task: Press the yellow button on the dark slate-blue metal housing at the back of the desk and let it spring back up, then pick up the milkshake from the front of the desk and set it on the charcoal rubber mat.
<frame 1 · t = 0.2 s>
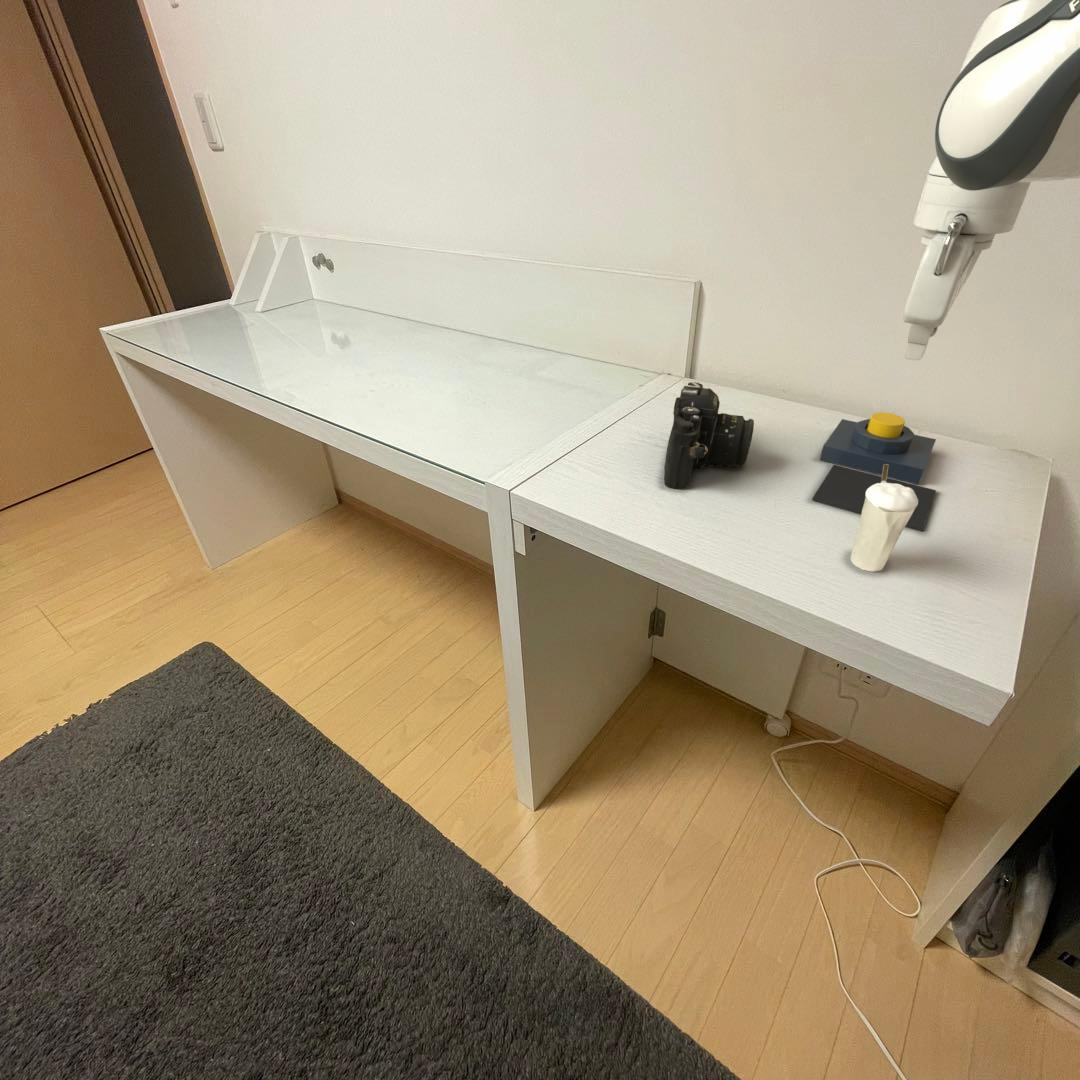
hand: (919, 345, 69), 17 cm above the table, tool pointing down, fingers open, 8 cm apart
film camera: (701, 463, 83), on the table
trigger: (885, 425, 80), point 5 cm above the table, slide at 0.1 cm
milkshake: (865, 561, 64), on the table
mat: (873, 496, 75), on the table
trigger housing: (875, 456, 83), on the table
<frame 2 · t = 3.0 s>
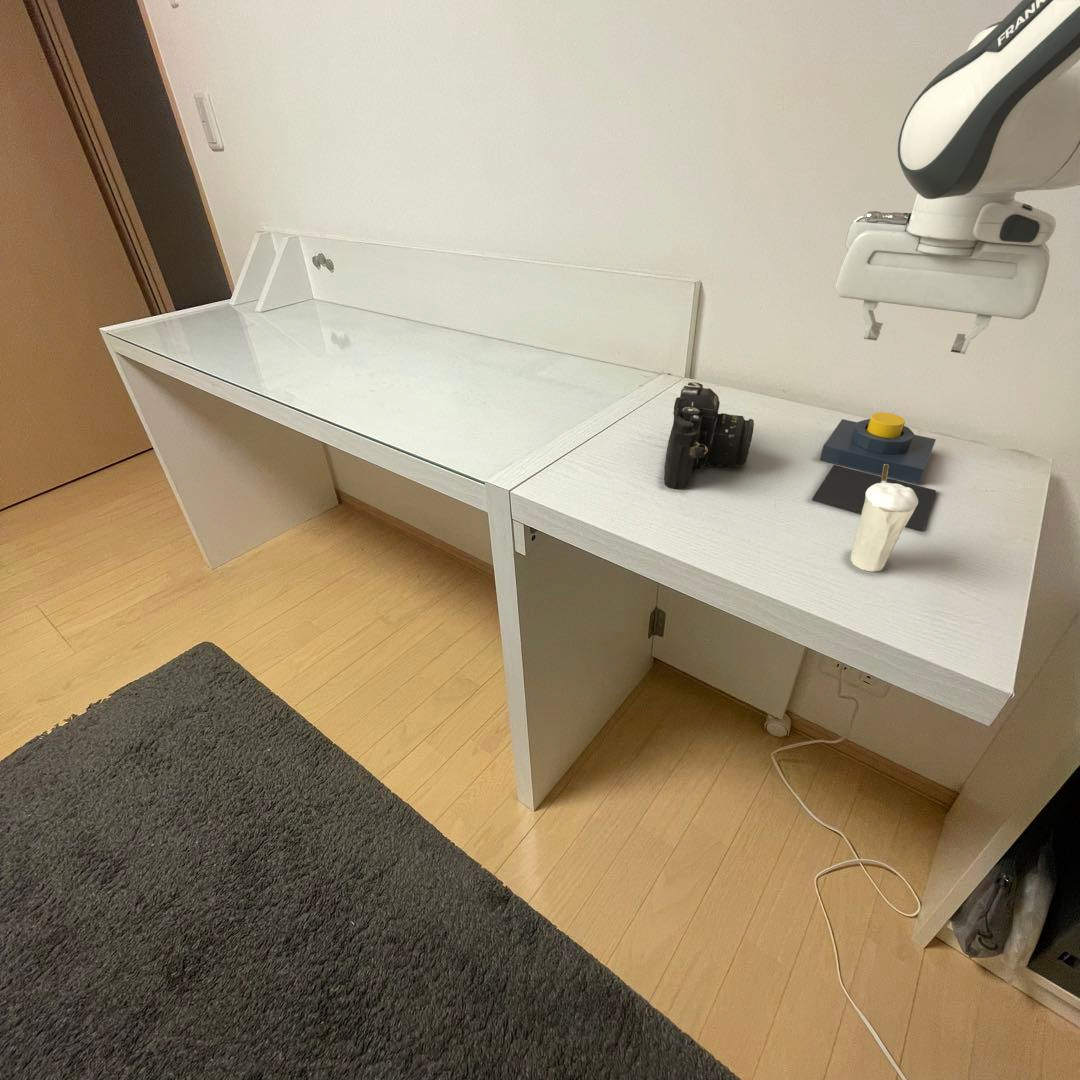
hand: (913, 345, 73), 15 cm above the table, tool pointing down, fingers open, 8 cm apart
nothing on the table moved.
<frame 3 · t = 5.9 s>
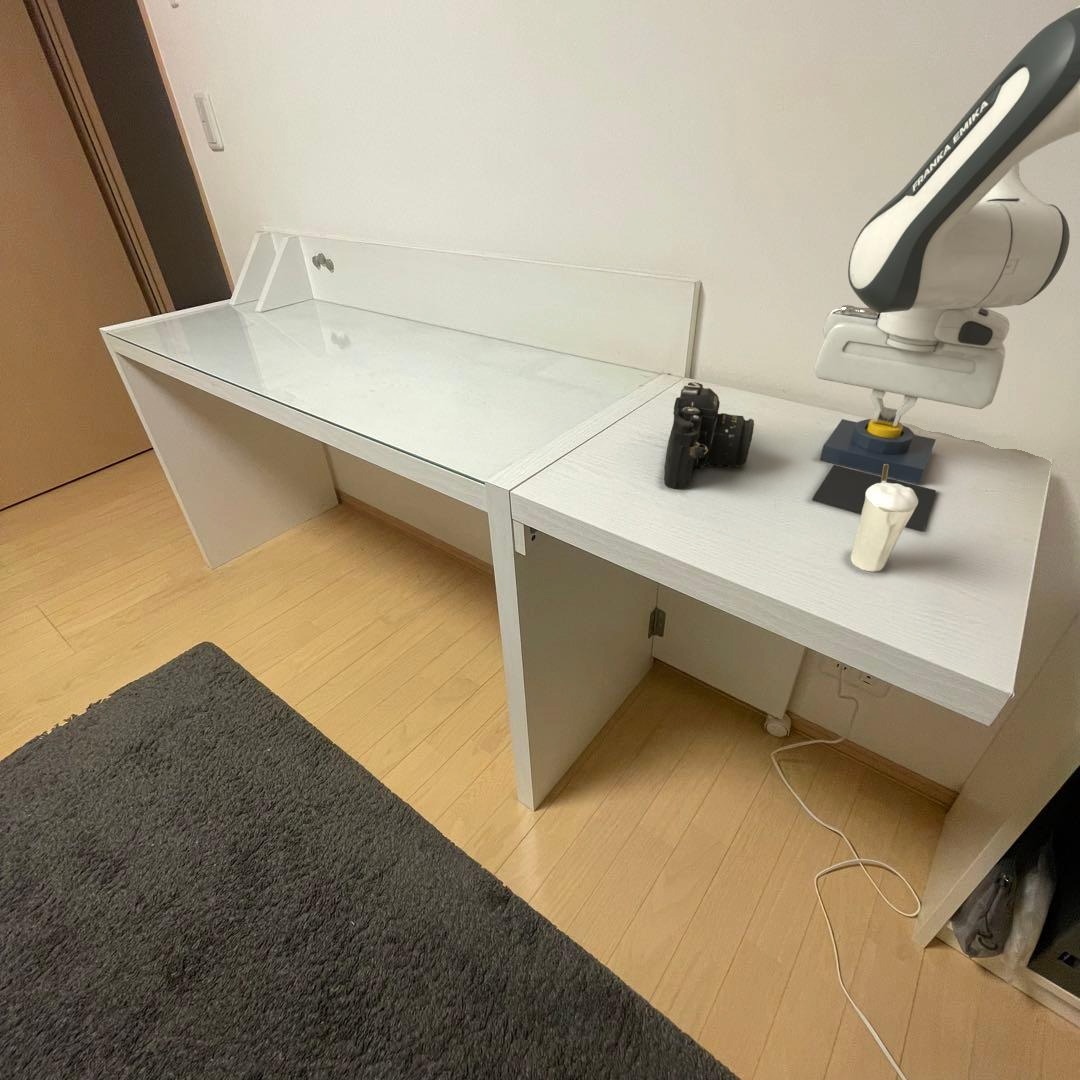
hand: (885, 423, 80), 5 cm above the table, tool pointing down, fingers closed, pressing on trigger
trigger: (883, 430, 80), point 4 cm above the table, slide at -0.7 cm, touching gripper
everything else where it was.
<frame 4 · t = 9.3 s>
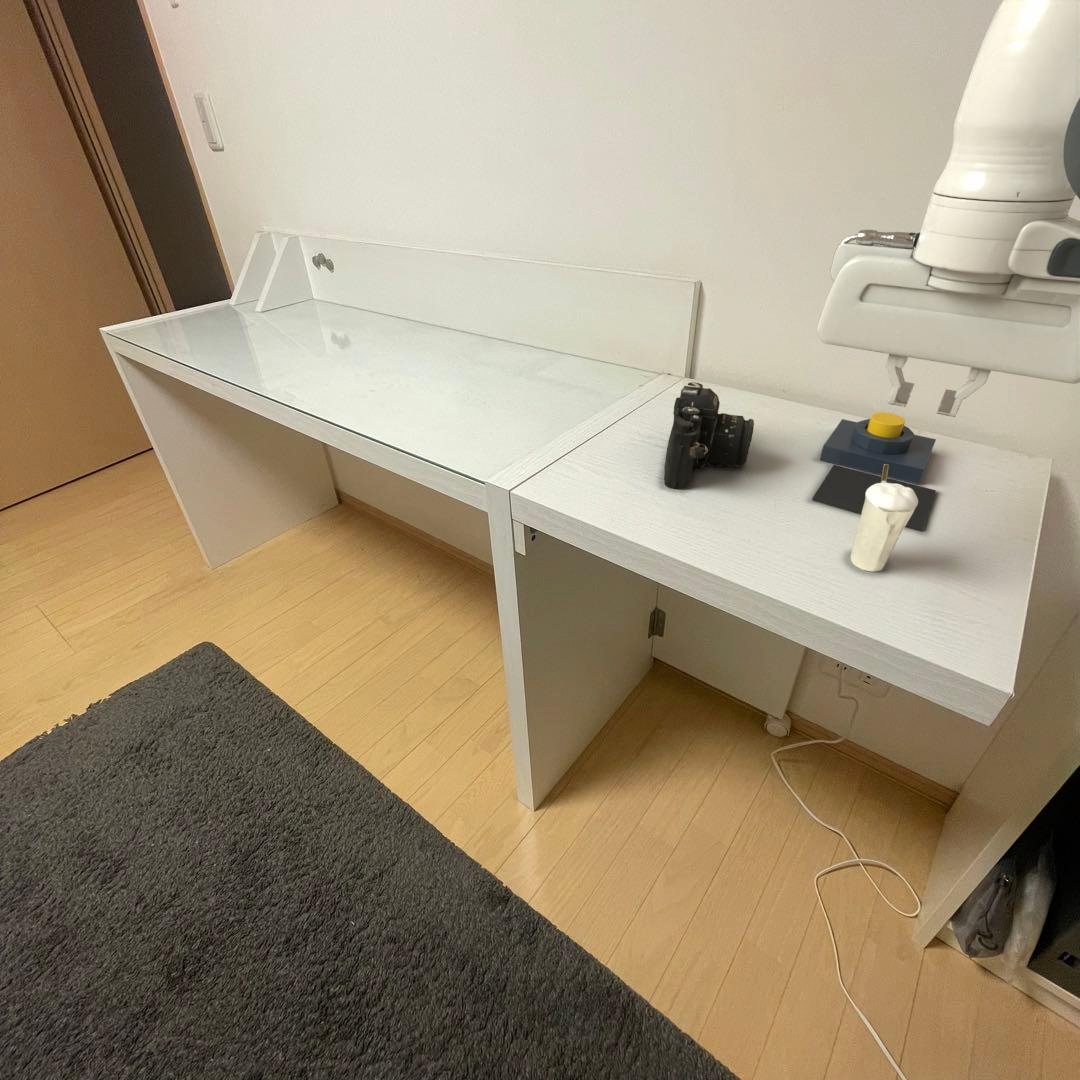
hand: (921, 408, 54), 17 cm above the table, tool pointing down, fingers closed
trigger: (885, 425, 80), point 5 cm above the table, slide at 0.1 cm
everything else where it was.
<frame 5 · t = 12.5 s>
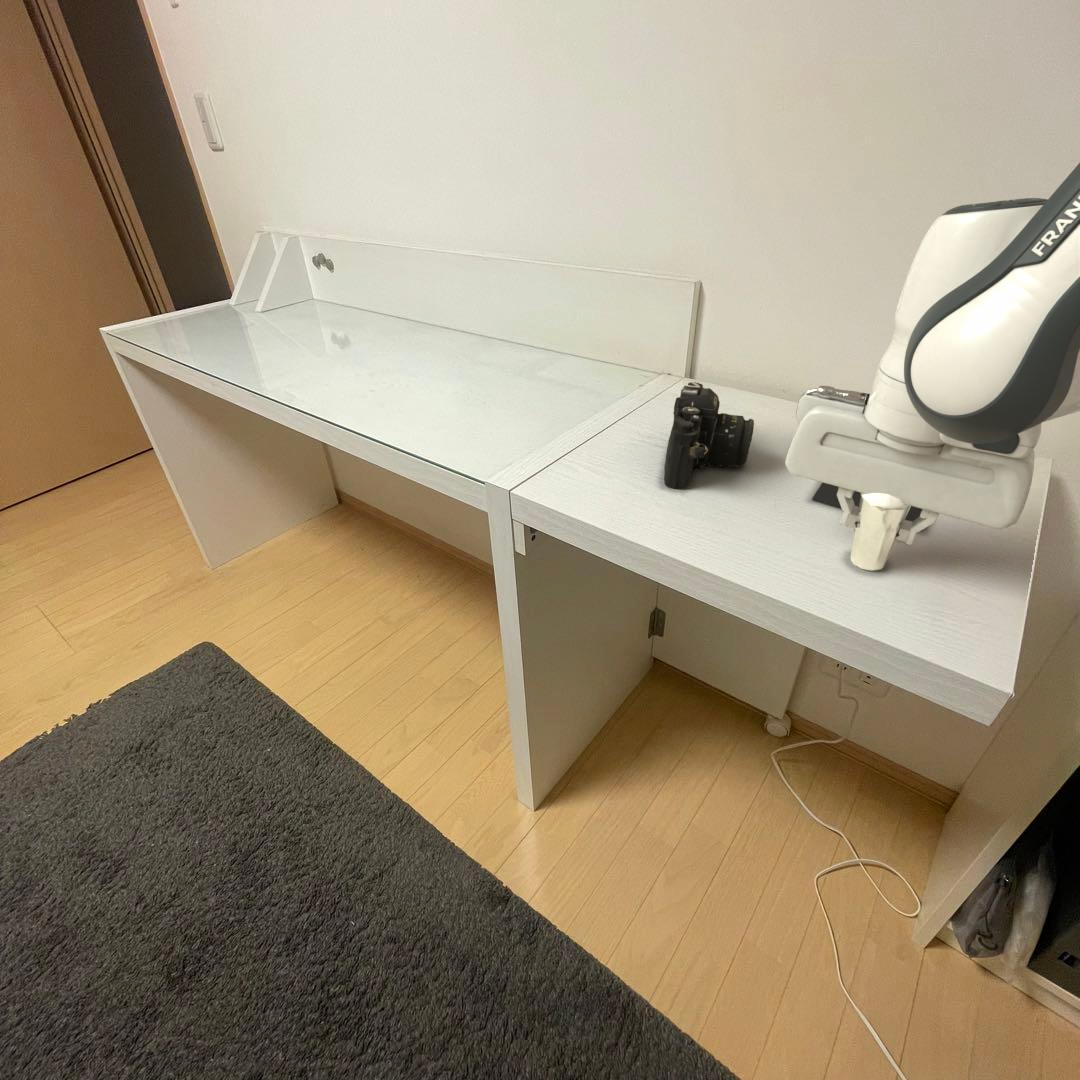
hand: (876, 532, 62), 4 cm above the table, tool pointing down, fingers closed on milkshake, 4 cm apart
milkshake: (865, 561, 64), on the table, touching gripper
everything else where it was.
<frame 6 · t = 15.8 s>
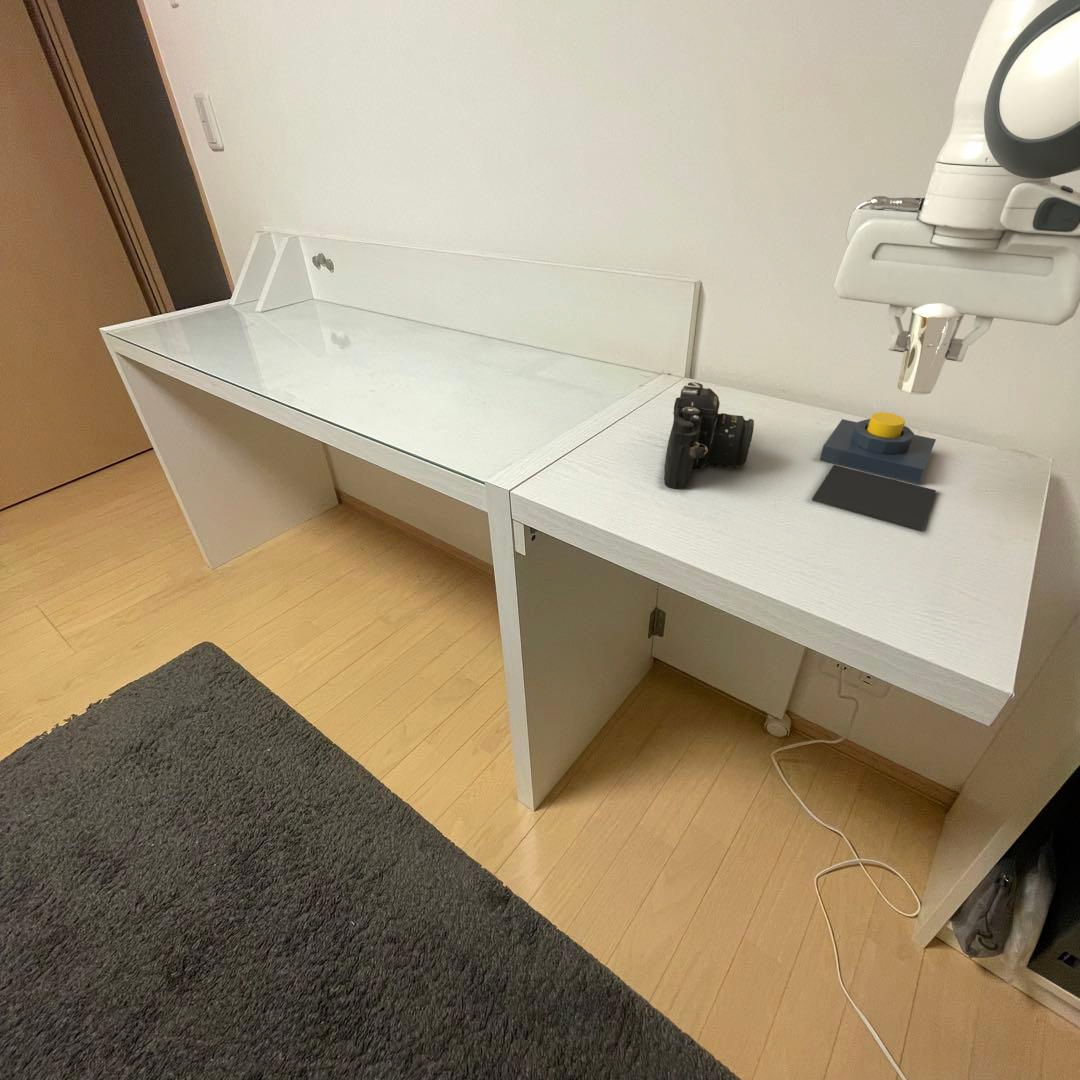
hand: (925, 354, 62), 18 cm above the table, tool pointing down, fingers closed on milkshake, 4 cm apart
milkshake: (912, 389, 64), point 15 cm above the table, touching gripper
everything else where it was.
when the fingers open (4 cm above the table, at t = 19.4 s): milkshake stays where it is, resting on mat.
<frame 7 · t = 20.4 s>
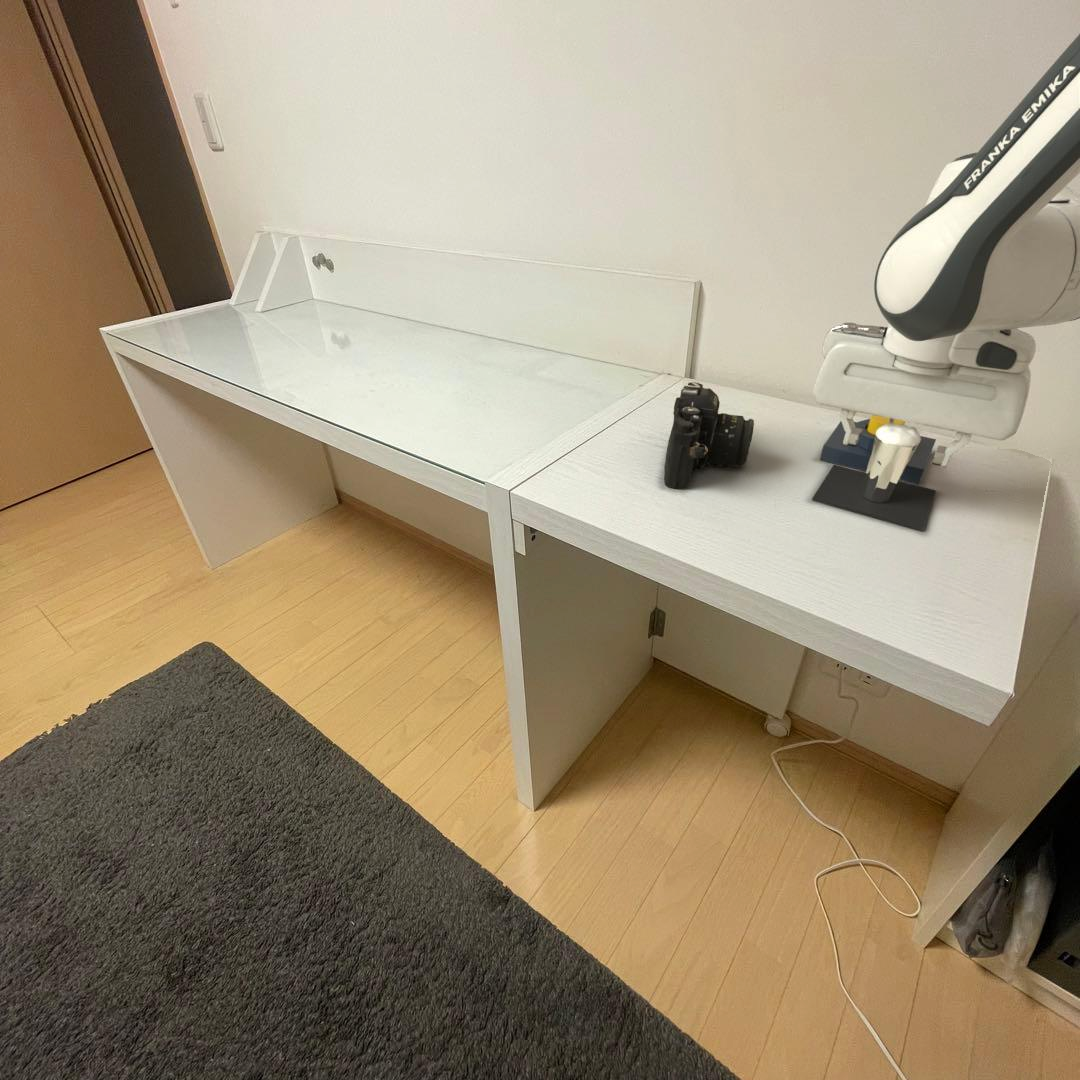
hand: (893, 453, 71), 6 cm above the table, tool pointing down, fingers open, 8 cm apart
milkshake: (873, 495, 74), resting on mat
everything else where it was.
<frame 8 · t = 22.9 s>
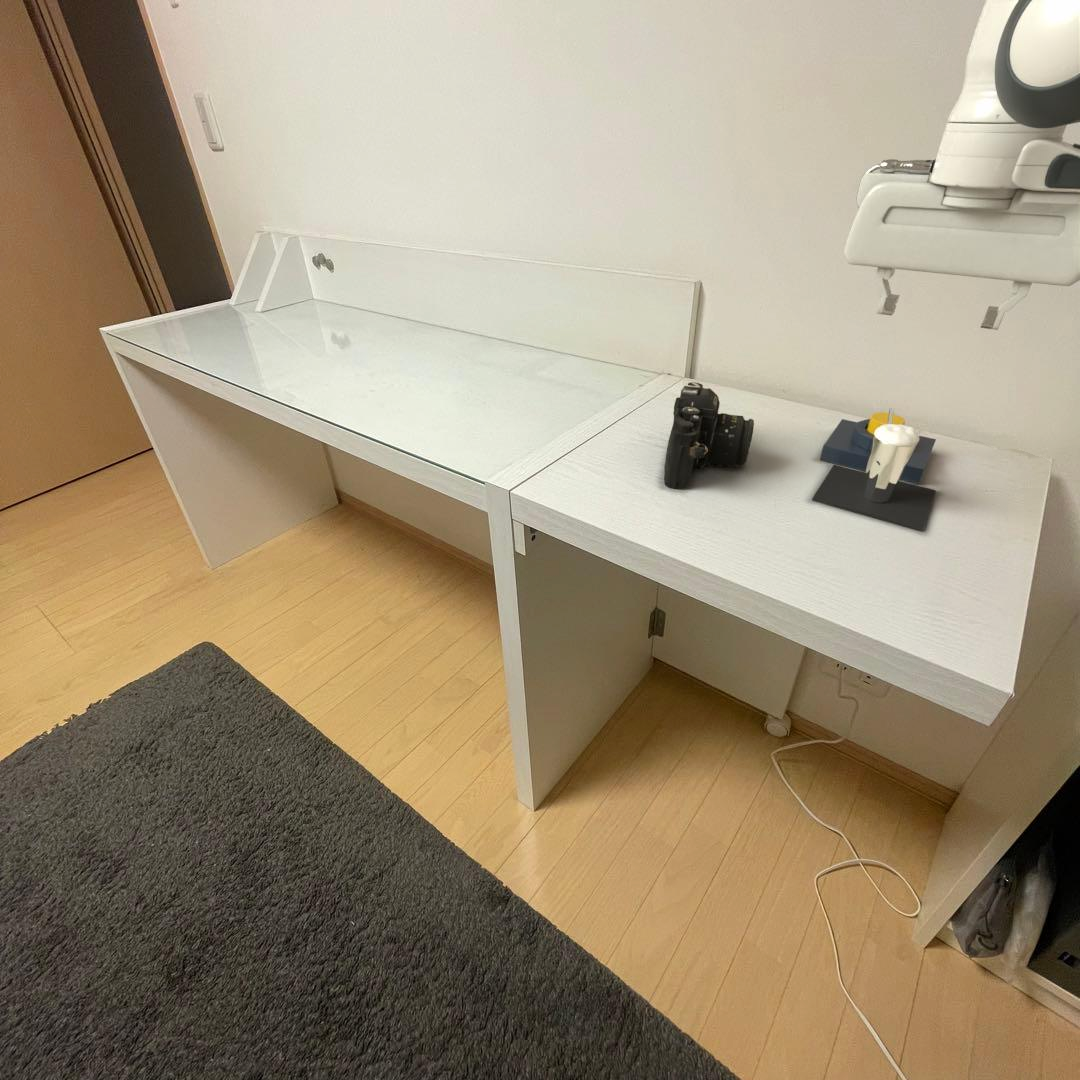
hand: (935, 320, 62), 21 cm above the table, tool pointing down, fingers open, 8 cm apart
nothing on the table moved.
at the end: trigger pushed in 1.1 cm at the most during the clip, back to where it started at the end; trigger slide at 0.1 cm; milkshake 0.2 cm off-centre on the mat, point 0.2 cm above the mat's base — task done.
